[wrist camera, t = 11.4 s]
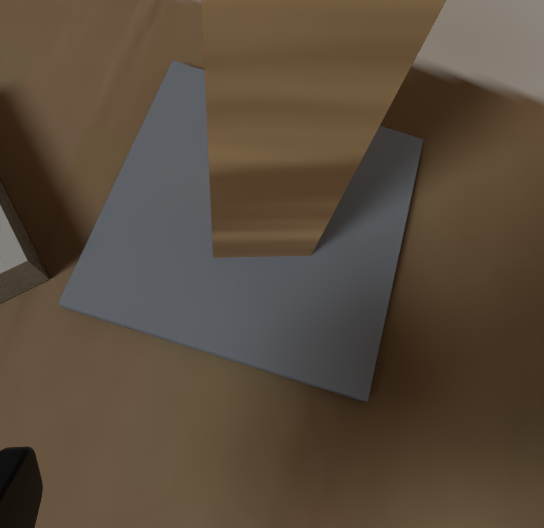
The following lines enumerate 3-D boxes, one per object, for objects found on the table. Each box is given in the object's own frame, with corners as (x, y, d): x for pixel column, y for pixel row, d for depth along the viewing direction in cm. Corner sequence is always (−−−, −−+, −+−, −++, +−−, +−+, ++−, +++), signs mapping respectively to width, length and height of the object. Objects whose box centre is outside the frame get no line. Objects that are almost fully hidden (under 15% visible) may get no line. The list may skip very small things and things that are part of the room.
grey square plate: (418, 146, 20) (423, 139, 20) (363, 401, 16) (367, 401, 16) (173, 68, 20) (172, 60, 20) (62, 307, 16) (57, 303, 16)
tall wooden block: (310, 255, 17) (521, -144, 5) (213, 257, 17) (193, -172, 5) (302, 170, 19) (461, -322, 6) (211, 170, 18) (191, -358, 6)
